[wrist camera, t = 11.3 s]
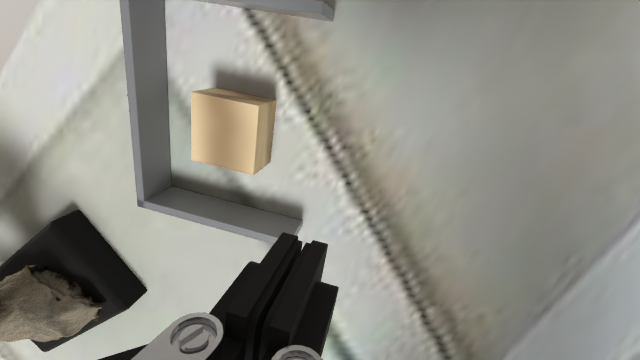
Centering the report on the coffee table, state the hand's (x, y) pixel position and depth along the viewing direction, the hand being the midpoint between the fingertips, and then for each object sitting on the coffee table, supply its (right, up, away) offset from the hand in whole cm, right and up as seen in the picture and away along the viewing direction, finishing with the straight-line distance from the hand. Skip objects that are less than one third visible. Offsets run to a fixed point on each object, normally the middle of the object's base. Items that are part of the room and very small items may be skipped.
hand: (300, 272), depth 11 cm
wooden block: (-7, +9, +19) cm, 22 cm away
